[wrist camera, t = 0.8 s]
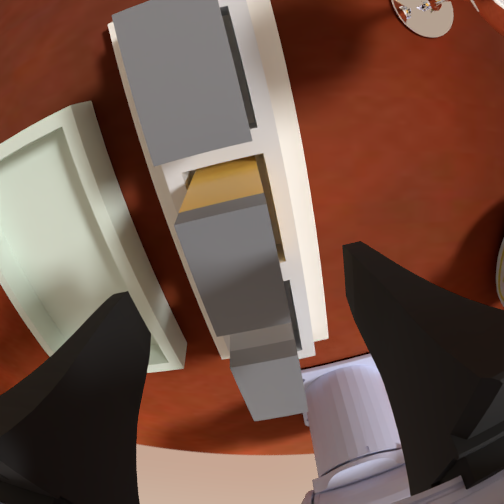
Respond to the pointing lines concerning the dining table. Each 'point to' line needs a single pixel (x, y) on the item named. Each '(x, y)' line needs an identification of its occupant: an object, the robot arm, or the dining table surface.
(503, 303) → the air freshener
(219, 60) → the block
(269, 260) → the block
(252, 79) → the fuse holder
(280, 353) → the block
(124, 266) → the tray
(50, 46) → the dining table surface
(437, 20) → the wineglass
